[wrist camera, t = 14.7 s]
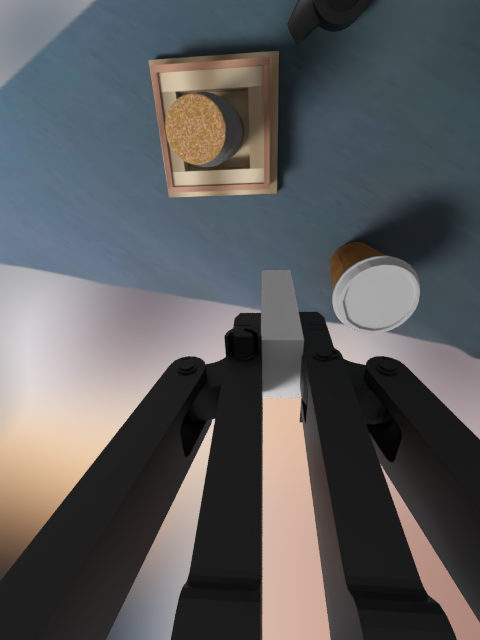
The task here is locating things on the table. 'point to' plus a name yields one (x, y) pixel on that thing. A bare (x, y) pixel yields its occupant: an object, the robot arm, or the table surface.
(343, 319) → the disposable coffee cup
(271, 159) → the holder block
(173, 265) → the table surface
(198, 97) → the bottle
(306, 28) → the dark winged oval cup
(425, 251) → the table surface
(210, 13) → the table surface
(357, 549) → the robot arm
